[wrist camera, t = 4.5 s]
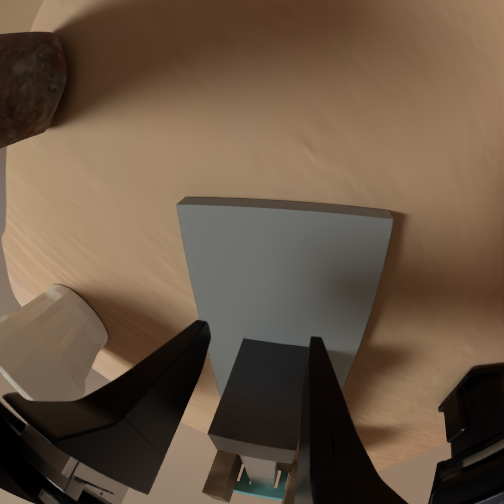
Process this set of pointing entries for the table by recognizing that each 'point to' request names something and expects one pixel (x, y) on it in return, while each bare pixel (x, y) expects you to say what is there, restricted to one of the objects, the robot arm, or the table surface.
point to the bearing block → (228, 471)
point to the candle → (29, 83)
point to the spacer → (261, 487)
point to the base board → (283, 273)
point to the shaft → (262, 408)
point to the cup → (51, 345)
